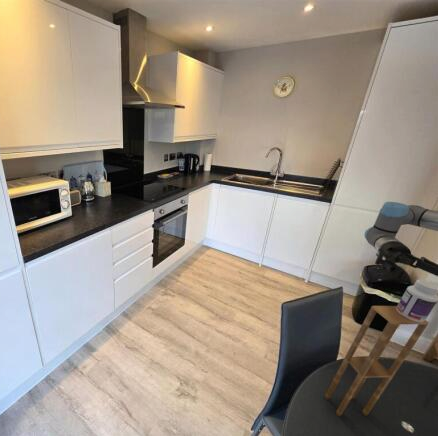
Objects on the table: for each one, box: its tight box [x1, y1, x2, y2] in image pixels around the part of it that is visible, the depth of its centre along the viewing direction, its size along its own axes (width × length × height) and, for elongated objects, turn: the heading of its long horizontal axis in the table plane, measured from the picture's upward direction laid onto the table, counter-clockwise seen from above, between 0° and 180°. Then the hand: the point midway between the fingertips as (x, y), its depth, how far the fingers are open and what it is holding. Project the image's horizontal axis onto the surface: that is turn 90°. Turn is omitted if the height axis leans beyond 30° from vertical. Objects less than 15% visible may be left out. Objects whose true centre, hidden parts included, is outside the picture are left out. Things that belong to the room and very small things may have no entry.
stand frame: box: [324, 307, 429, 417], centre depth 70 cm, size 10×6×37 cm, turn 93°
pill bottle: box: [396, 278, 438, 322], centre depth 61 cm, size 5×5×10 cm
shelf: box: [370, 305, 430, 325], centre depth 63 cm, size 10×6×1 cm, turn 93°
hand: (428, 281), depth 74 cm, fingers open, 13 cm apart
